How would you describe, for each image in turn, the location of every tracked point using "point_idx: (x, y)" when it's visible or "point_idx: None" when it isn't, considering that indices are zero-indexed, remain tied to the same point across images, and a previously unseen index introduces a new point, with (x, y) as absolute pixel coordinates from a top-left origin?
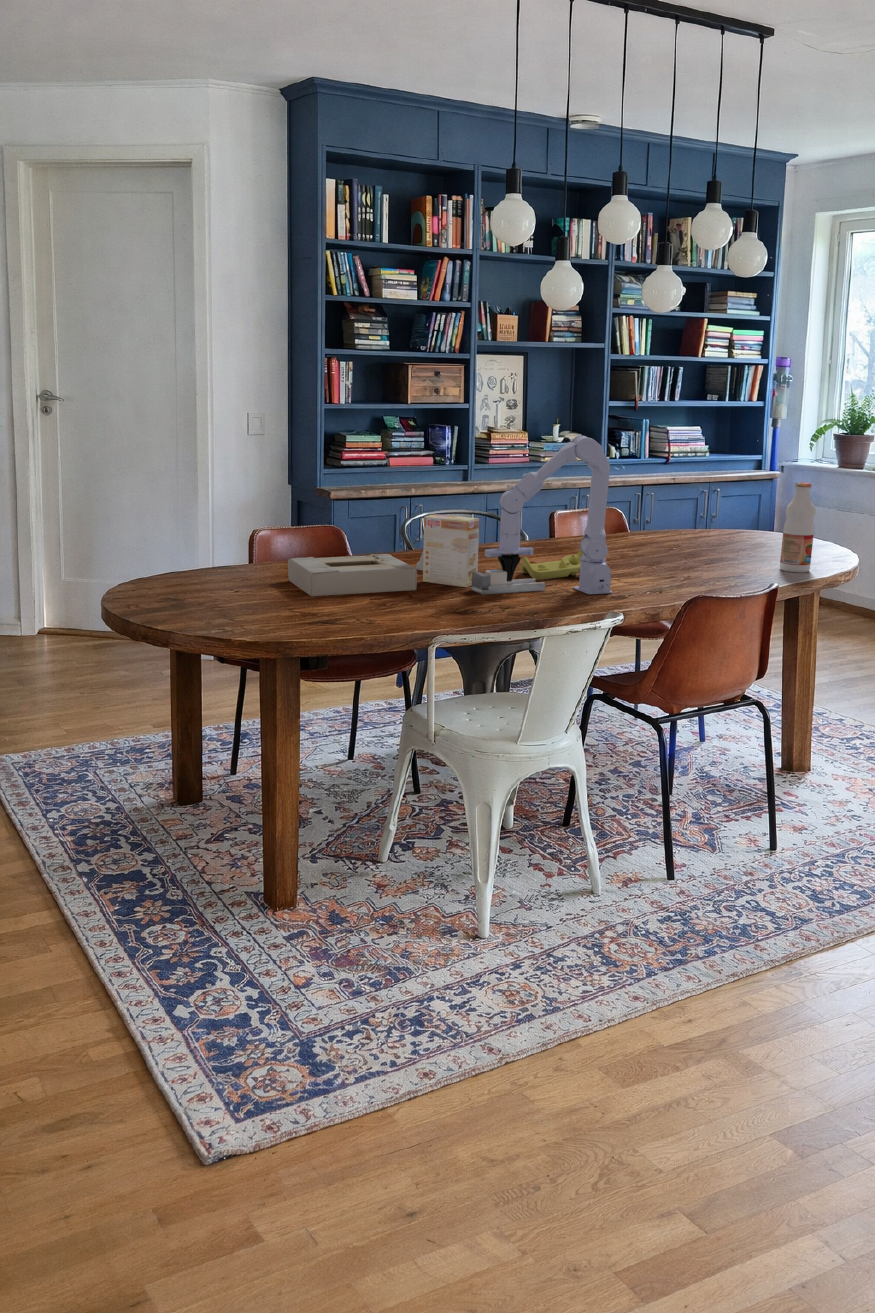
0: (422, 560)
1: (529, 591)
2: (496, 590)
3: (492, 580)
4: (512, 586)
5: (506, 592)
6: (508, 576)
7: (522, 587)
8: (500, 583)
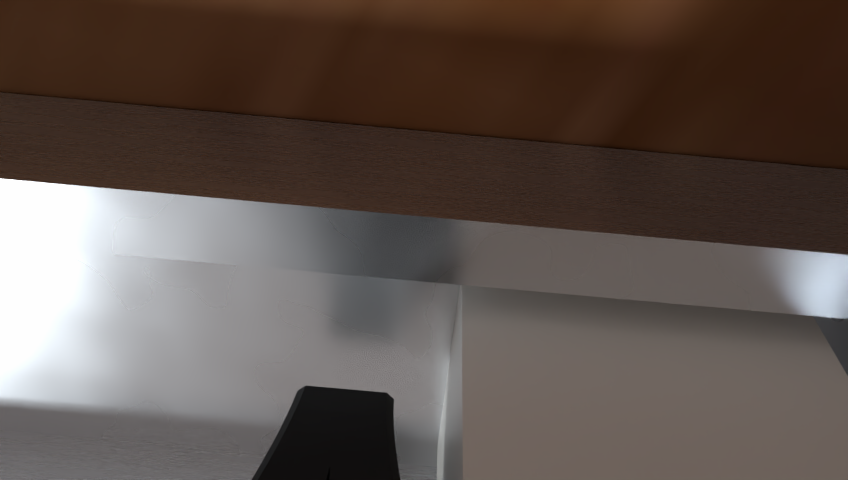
0: None
1: (12, 95)
2: (761, 191)
3: (837, 423)
4: (386, 192)
5: (524, 142)
6: (384, 471)
7: (141, 154)
8: (607, 348)
